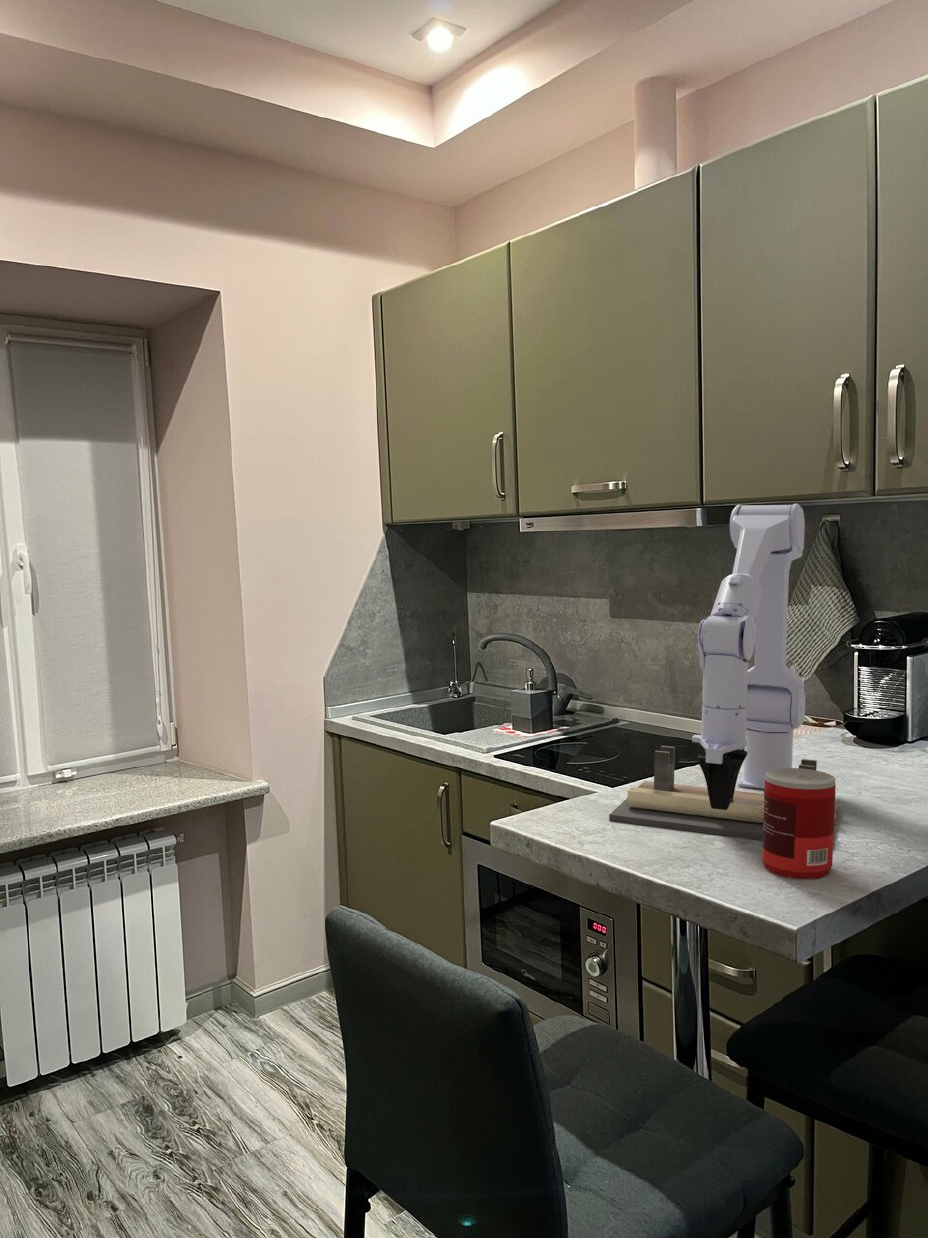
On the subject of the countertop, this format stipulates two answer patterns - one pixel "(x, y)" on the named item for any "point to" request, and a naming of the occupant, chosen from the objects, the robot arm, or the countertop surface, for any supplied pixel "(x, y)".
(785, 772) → the canned food
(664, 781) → the rack
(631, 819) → the mat
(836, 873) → the countertop surface
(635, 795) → the rail
